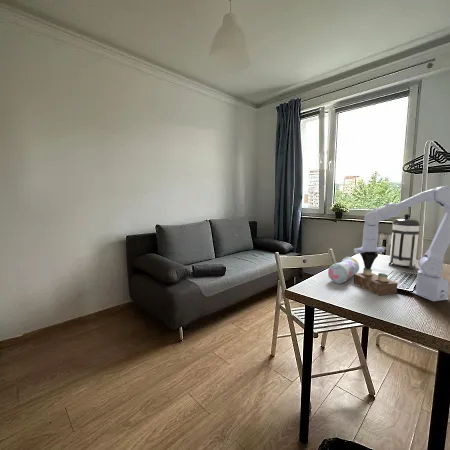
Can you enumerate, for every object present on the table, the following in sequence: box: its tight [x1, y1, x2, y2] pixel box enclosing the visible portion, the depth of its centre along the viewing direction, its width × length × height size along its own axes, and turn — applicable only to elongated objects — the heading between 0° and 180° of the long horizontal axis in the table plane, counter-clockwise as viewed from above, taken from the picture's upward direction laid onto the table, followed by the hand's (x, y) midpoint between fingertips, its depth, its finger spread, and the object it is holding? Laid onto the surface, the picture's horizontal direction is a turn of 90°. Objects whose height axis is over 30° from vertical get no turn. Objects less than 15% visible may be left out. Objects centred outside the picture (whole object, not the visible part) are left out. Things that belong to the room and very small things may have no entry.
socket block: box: [352, 272, 398, 296], centre depth 104 cm, size 14×9×4 cm, turn 12°
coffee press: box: [388, 213, 421, 271], centre depth 134 cm, size 17×16×30 cm
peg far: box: [362, 267, 373, 277], centre depth 108 cm, size 3×3×4 cm
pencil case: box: [327, 256, 360, 284], centre depth 116 cm, size 21×9×10 cm, turn 136°
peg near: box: [377, 272, 388, 283], centre depth 100 cm, size 3×3×4 cm
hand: (367, 268), depth 107 cm, fingers closed
